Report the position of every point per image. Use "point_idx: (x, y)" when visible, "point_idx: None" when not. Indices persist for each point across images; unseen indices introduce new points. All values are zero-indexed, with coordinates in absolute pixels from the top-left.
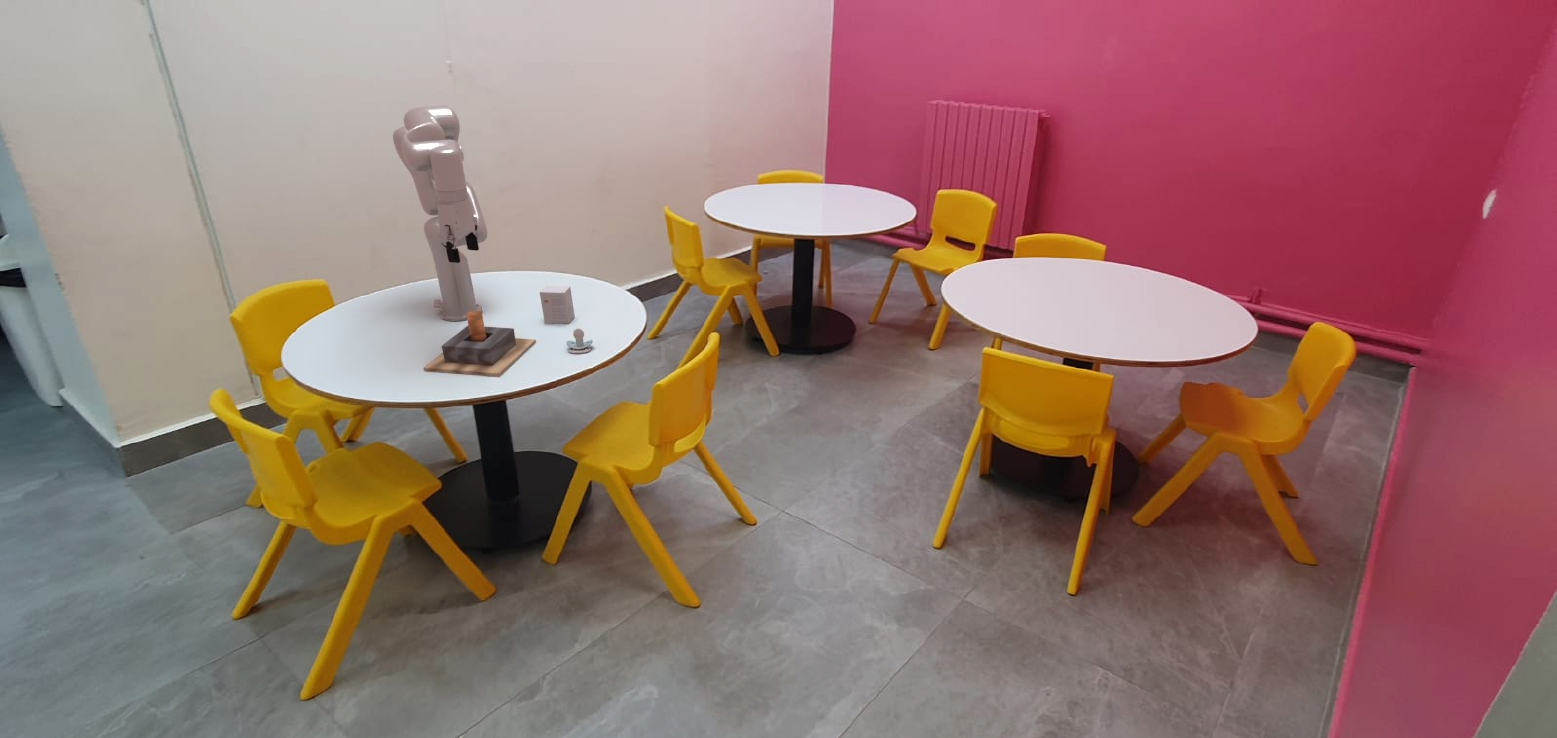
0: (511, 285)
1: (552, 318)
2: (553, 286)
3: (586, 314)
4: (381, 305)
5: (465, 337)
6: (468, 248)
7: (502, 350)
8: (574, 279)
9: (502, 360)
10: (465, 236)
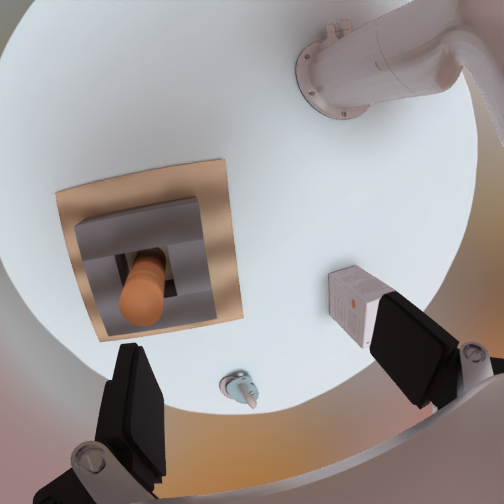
0: (446, 119)
1: (333, 293)
2: None
3: None
4: None
5: (131, 248)
6: (384, 306)
7: None
8: (467, 210)
9: None
10: (447, 348)
